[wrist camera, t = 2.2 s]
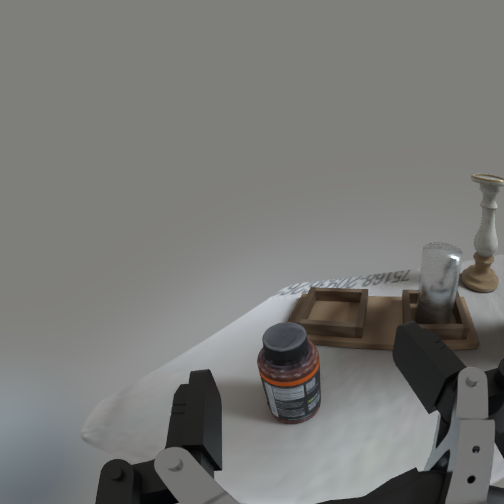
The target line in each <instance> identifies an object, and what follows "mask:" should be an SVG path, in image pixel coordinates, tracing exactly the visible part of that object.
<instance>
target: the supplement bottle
mask: <svg viewBox="0 0 504 504" xmlns="http://www.w3.org/2000/svg"><path fill="white" fill-rule="evenodd" d="M262 340H263V348H262V349H261V351H260V353H259V355H258V360H257V363H258V368H259V373H260V376H261V380H262V383H263V387H264V391H265V394H266V398H267V402H268V403H267V404H268V405H269V409H270V411H271V413H272V415H273V416H274V417H275V418H276V419H278V420H279V421H281V422H284V423H289V424H295V423H301V422H304V421H306V420H308V419H310V418H311V417H313V416H314V415H315V414H316V412H317V411H318V409H319V407H320V402H321V391H320V365H319V354H318V350H317V348H316V346H315V345H314V344H313V343H312V342H311V341H310V340H308V339H307V333H306V330H305V329H304V328H303V327H302V326H301V325H299V324H296V323H290V322H285V323H279V324H276V325H274V326H272V327H270V328H269V329H267V330H266V331H265V333H264V335H263V339H262Z"/></svg>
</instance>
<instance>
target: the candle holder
mask: <svg viewBox="0 0 504 504" xmlns="http://www.w3.org/2000/svg"><path fill="white" fill-rule="evenodd" d="M471 179H472V181H474V182H477V183H480V190H481V191H482V193H483V200H482V202H481V204H480V205H481V206H482V210H483V211H482V221H481V225H480V228H479V230H478V231H477V234H476V236H475V239H474V247H475V249H476V251H477V252H476V253H475V254H474V259H475V265H471V266H469V267H468V268H467V269H465V270H464V271H463V273H462V282H463V283H464V284H465V285H466V286H467V287H468V288H470V289H472V290H475V291H478V292H491V291H494V290H495V289H496V288H497V286H498V277H497V276H496V275H495V272H494V271H493V270H492V269H491V268H490V266H491V264H492V263H493V262H494V257H493V254H494V253H495V252H496V250H497V248H498V240H497V235H496V231H495V210H496V209H497V208H498V206H497V204H496V195H497V194H498V193H499V186H504V178H503V177H500V176H496V175H490V174H473V175H472V176H471Z"/></svg>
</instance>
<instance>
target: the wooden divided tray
mask: <svg viewBox="0 0 504 504" xmlns="http://www.w3.org/2000/svg"><path fill="white" fill-rule="evenodd" d="M418 292H419V290H403V294H402V297H378V296H368V289H342V288H316V287H311V288H310V290H309V292H308V294H302V296H301V297H300V299H299V301H298V303H297V305H296V307H295V309H294V311H293V312H292V314H291V316H290V318H289V320H288V322H290V323H296V324H299V325H301V326H302V327H303V328H304V329H305V330H306V333H307V339H308V340H310V341H311V342H312V343H313V344H314V345H323V346H334V347H347V348H362V349H381V350H393V346H394V341H395V335H396V329H397V327H398V326H399V325H402V324H404V323H407V322H410V321H415V313H416V306H417V300H418ZM415 322H416V321H415ZM418 325H419V326H420V327H421V328H422V329H423V328H426V329H428V330H430V331H432V332H434V333H435V334H436V335H437V336H438V337H439V338H440V339H441V341H443V342H444V343H445V344H446V347H449V349H450V350H462V349H477V347H478V345H479V342H478V338H477V335H476V331H475V328H474V325H473V322H472V319H471V316H470V313H469V310H468V307H467V305H466V302H465V299H464V297H460V296H459V294H458V291H457V292H456V297H455V301H454V306H453V310H452V315H451V319H450V323H449V324H418Z"/></svg>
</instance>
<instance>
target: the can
mask: <svg viewBox="0 0 504 504" xmlns="http://www.w3.org/2000/svg"><path fill="white" fill-rule="evenodd" d="M461 261H462V251H461V250H460V249H459V248H458V247H456V246H454V245H451V244H447V243H430V244H427V245H425V246H424V247H423V251H422V264H421V275H420V284H419V292H418V300H417V306H416V313H415V321H416V323H417V324H449V323H450V319H451V315H452V310H453V306H454V301H455V297H456V292H457V286H458V281H459V275H460V268H461Z"/></svg>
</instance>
